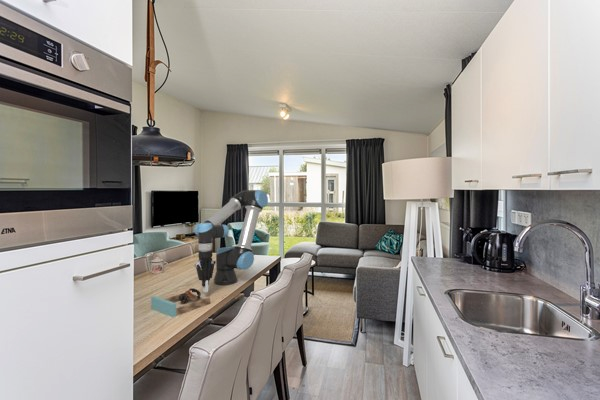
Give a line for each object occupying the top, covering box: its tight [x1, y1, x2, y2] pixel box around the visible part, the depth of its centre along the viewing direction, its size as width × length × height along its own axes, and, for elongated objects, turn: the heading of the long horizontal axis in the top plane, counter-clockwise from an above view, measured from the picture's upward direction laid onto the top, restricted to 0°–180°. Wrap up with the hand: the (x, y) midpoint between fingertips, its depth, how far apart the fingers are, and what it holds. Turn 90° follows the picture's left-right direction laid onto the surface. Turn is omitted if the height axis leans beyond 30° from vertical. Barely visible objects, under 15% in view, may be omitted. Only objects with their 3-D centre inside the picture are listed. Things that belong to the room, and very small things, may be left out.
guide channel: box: [164, 292, 211, 317], centre depth 160 cm, size 20×19×3 cm
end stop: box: [150, 295, 177, 318], centre depth 151 cm, size 2×19×6 cm, turn 55°
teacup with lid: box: [150, 256, 169, 275], centre depth 229 cm, size 12×9×12 cm
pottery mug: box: [178, 287, 202, 304], centre depth 164 cm, size 12×10×8 cm
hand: (205, 291), depth 172 cm, fingers closed
